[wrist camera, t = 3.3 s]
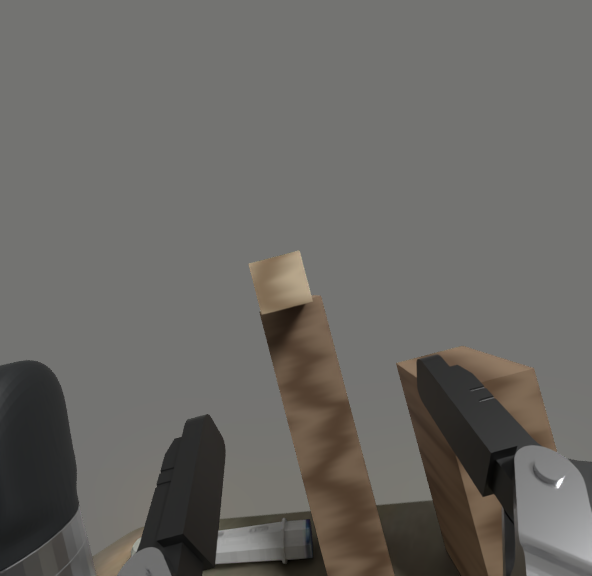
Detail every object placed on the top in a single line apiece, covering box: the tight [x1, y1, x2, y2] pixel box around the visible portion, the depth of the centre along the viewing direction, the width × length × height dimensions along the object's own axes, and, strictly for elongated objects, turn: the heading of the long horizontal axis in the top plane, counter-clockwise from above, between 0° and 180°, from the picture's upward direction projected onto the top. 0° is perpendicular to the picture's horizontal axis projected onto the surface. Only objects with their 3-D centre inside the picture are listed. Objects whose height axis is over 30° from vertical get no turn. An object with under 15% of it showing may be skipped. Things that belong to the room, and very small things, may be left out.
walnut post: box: [260, 295, 395, 576], centre depth 32 cm, size 6×11×32 cm, turn 0°
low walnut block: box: [396, 346, 557, 576], centre depth 28 cm, size 8×10×22 cm
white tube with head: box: [131, 518, 313, 564], centre depth 38 cm, size 5×7×25 cm
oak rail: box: [249, 251, 313, 315], centre depth 28 cm, size 4×19×4 cm, turn 0°
